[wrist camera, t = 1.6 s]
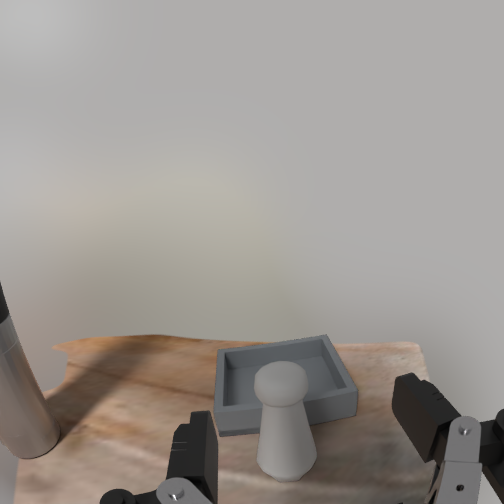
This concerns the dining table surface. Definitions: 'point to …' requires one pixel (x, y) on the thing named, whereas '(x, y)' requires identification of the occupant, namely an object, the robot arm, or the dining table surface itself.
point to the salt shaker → (284, 422)
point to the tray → (255, 357)
